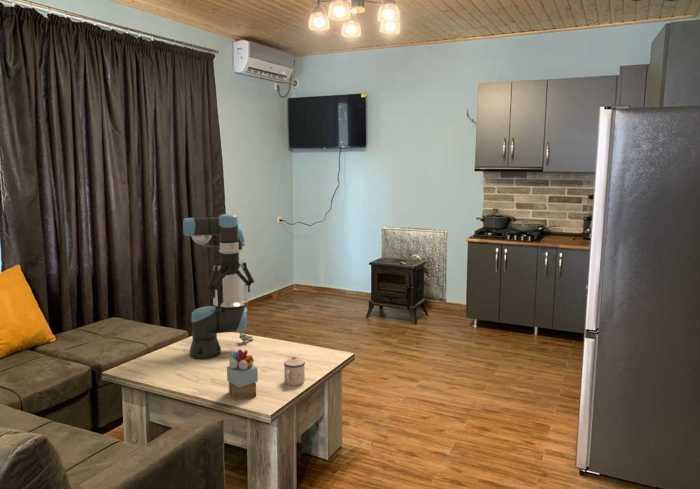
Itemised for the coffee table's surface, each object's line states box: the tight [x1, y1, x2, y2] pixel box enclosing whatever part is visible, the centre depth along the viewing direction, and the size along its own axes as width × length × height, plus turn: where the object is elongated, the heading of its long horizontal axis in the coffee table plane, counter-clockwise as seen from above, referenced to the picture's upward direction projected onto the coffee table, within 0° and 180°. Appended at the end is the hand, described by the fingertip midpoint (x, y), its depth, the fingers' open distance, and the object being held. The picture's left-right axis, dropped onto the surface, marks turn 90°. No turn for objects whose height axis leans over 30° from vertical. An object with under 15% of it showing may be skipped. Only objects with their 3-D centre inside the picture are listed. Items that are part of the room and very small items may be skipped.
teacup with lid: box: [283, 355, 306, 386], centre depth 233 cm, size 12×9×12 cm
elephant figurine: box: [239, 331, 254, 346], centre depth 284 cm, size 10×6×9 cm
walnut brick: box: [228, 381, 257, 401], centre depth 222 cm, size 9×9×6 cm
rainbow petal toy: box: [228, 348, 255, 370], centre depth 220 cm, size 8×10×7 cm
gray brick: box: [226, 364, 259, 387], centre depth 221 cm, size 9×9×6 cm
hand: (231, 302), depth 224 cm, fingers open, 13 cm apart
